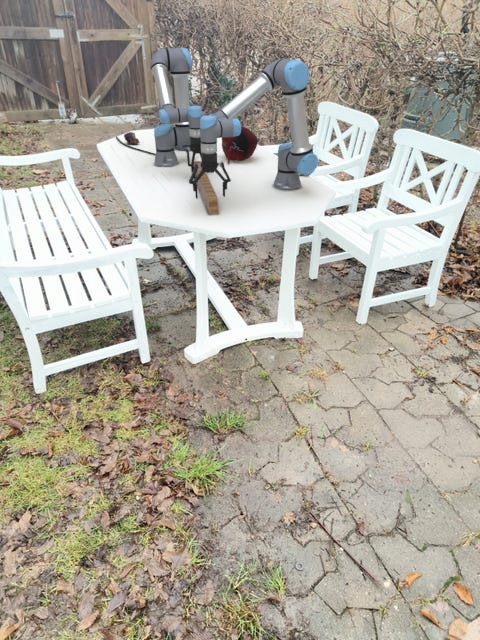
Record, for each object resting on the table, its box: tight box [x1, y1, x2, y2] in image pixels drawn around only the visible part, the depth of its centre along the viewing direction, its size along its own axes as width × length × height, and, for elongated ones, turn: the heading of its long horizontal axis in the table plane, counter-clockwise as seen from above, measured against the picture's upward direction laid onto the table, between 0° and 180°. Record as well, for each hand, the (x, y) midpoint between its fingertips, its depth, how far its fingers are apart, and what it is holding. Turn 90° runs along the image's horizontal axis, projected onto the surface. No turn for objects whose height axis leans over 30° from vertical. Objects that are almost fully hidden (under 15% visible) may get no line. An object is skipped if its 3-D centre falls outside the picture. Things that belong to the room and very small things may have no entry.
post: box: [193, 160, 219, 216], centre depth 244 cm, size 65×4×8 cm, turn 11°
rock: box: [123, 131, 140, 145], centre depth 337 cm, size 12×9×10 cm
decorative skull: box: [221, 126, 259, 165], centre depth 296 cm, size 21×24×25 cm
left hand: (198, 177), depth 268 cm, fingers closed on post, 4 cm apart
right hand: (210, 196), depth 222 cm, fingers open, 13 cm apart
